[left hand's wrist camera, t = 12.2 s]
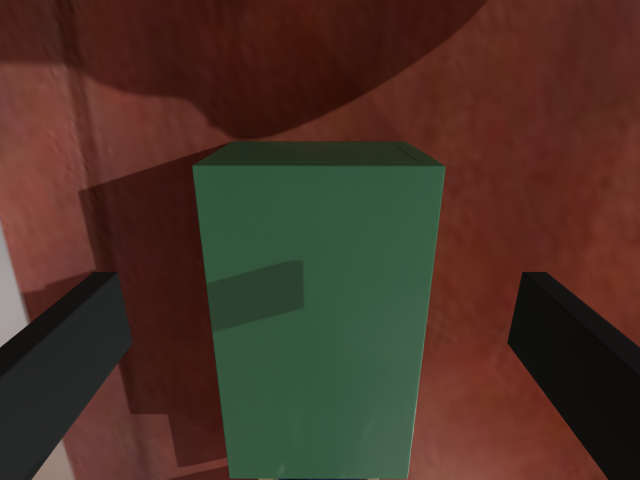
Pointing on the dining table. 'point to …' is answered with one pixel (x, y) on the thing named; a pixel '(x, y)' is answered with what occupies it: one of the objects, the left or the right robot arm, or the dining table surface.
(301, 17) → the dining table surface
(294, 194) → the green rectangular box
